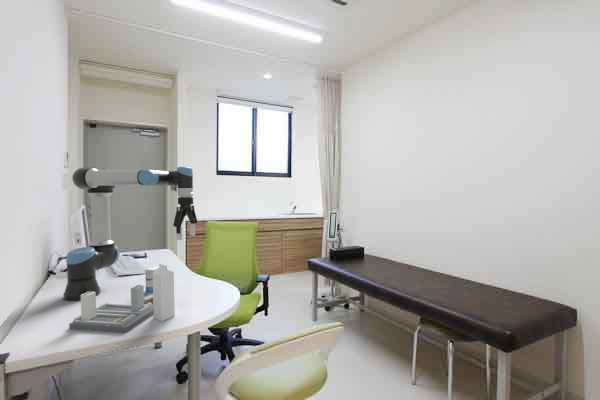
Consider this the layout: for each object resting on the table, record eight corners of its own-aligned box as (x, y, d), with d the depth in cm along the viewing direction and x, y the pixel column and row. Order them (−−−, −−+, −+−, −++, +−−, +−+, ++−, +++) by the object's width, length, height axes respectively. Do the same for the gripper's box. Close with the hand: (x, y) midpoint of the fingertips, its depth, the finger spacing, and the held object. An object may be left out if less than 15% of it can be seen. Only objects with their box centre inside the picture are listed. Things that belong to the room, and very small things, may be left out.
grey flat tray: (69, 328, 119) (69, 320, 119) (108, 308, 139) (108, 301, 139) (126, 332, 116) (126, 323, 116) (158, 311, 136) (157, 303, 136)
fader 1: (81, 320, 122) (80, 294, 121) (89, 315, 126) (88, 291, 125) (88, 320, 121) (87, 294, 121) (96, 316, 125) (95, 291, 125)
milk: (167, 313, 134) (166, 262, 133) (174, 316, 131) (174, 264, 130) (153, 317, 129) (152, 265, 129) (161, 321, 126) (160, 267, 125)
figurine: (132, 313, 139) (167, 299, 146) (129, 304, 138) (164, 290, 146) (131, 310, 142) (166, 297, 149) (128, 301, 141) (163, 288, 149)
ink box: (153, 292, 160) (153, 269, 160) (145, 292, 161) (144, 269, 161) (164, 287, 169) (163, 265, 168) (156, 286, 170) (155, 265, 169)
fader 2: (131, 311, 130) (130, 287, 129) (137, 308, 134) (137, 284, 133) (137, 312, 129) (137, 287, 129) (144, 308, 133) (143, 284, 133)
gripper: (179, 197, 148) (180, 241, 149) (203, 196, 173) (203, 234, 174) (165, 197, 149) (166, 241, 150) (190, 196, 174) (191, 233, 175)
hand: (186, 237), depth 162 cm, fingers open, 13 cm apart
